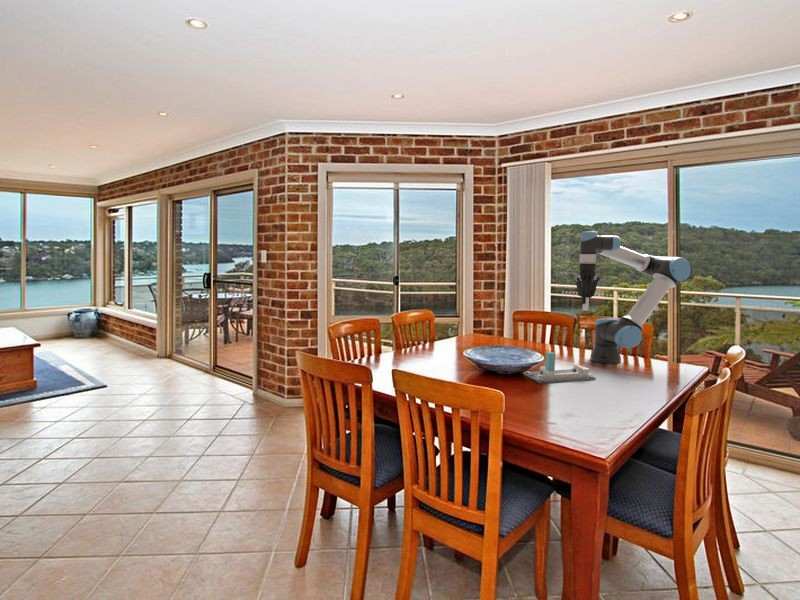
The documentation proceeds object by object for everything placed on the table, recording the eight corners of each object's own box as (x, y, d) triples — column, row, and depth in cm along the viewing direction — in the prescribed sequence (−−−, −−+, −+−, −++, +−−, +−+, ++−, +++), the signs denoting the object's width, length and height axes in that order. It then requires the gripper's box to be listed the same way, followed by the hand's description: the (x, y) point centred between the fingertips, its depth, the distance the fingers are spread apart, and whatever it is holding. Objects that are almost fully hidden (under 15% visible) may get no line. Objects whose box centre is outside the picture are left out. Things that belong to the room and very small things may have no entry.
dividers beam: (577, 372, 226) (577, 364, 226) (589, 377, 217) (589, 369, 216) (529, 375, 220) (530, 366, 220) (540, 380, 211) (540, 372, 211)
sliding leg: (543, 373, 222) (544, 349, 221) (554, 379, 213) (555, 353, 211) (538, 373, 221) (538, 349, 220) (548, 379, 212) (549, 353, 211)
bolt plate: (575, 371, 232) (575, 367, 232) (595, 379, 217) (595, 376, 216) (523, 374, 226) (523, 371, 225) (540, 383, 210) (540, 380, 210)
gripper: (594, 262, 237) (592, 309, 239) (571, 262, 234) (569, 309, 236) (604, 263, 229) (601, 311, 232) (580, 263, 226) (578, 311, 229)
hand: (585, 310), depth 234 cm, fingers closed
